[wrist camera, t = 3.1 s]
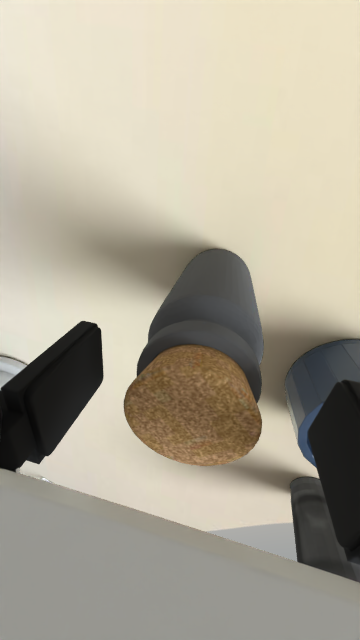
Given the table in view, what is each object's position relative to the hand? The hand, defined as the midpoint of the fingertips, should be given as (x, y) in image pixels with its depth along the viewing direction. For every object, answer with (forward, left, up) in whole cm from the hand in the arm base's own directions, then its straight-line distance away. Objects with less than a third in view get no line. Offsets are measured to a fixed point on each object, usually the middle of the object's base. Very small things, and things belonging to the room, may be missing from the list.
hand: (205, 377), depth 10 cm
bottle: (0, 0, -13) cm, 13 cm away
